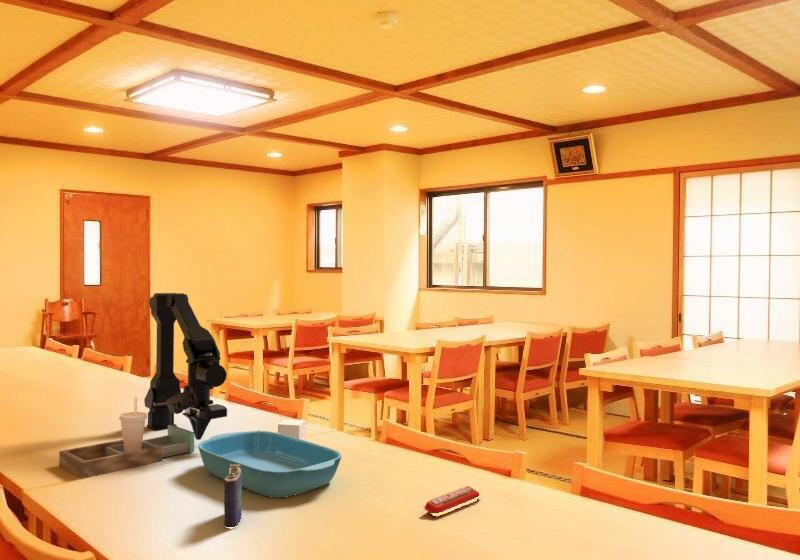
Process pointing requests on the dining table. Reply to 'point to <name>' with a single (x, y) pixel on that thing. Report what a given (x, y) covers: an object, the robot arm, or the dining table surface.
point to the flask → (232, 496)
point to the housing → (105, 459)
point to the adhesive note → (293, 428)
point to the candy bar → (451, 500)
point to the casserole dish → (270, 461)
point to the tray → (163, 443)
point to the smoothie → (133, 429)
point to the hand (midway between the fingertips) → (198, 439)
